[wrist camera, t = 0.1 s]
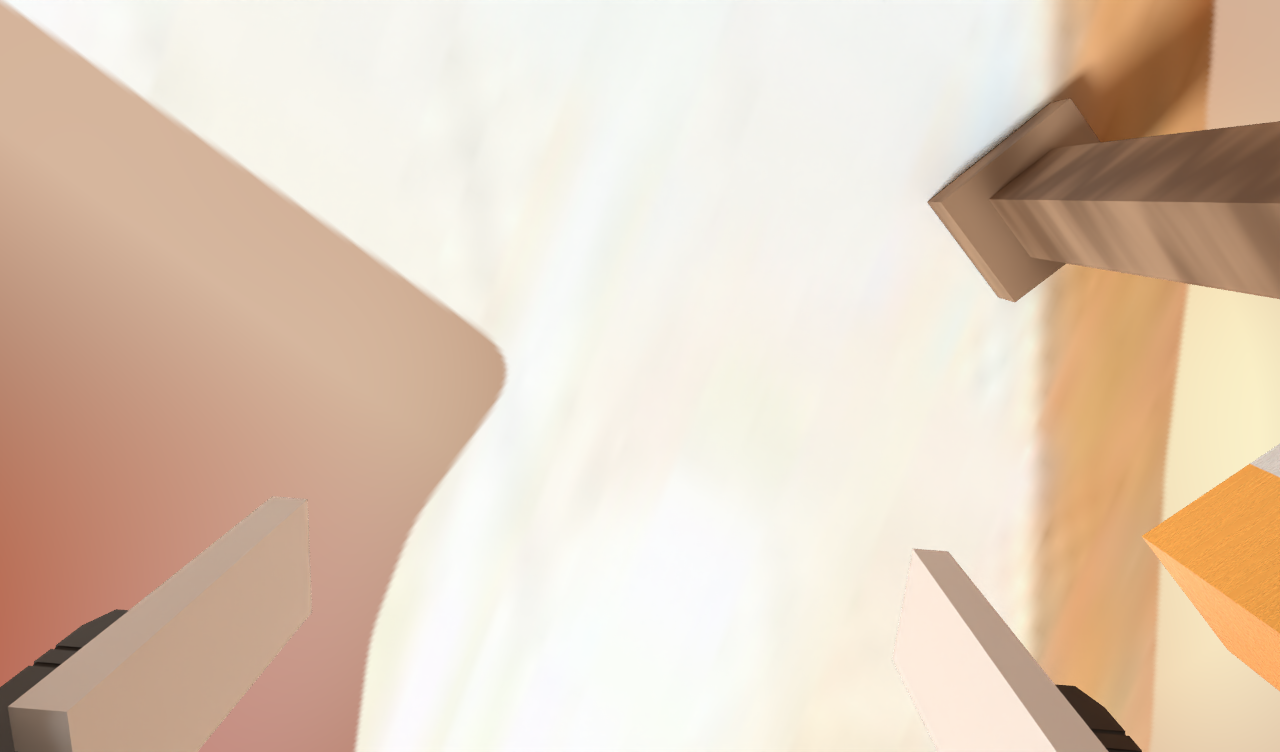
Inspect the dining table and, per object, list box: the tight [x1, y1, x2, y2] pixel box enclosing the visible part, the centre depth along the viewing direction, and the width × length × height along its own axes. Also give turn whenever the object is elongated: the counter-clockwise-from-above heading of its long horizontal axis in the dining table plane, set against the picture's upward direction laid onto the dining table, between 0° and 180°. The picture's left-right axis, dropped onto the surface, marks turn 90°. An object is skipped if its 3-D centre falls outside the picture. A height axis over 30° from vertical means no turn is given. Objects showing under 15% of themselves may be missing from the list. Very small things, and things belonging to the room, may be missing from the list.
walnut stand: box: [928, 98, 1280, 302], centre depth 27 cm, size 8×7×28 cm
